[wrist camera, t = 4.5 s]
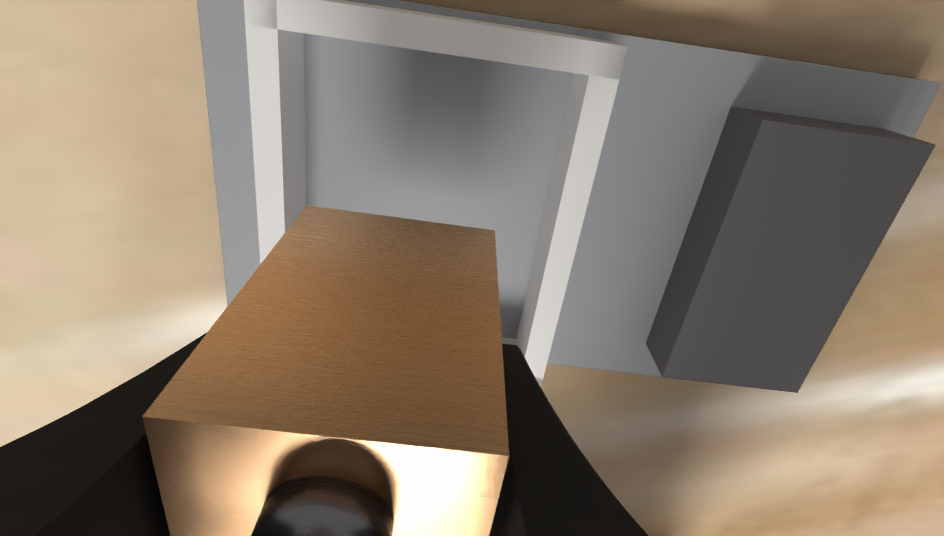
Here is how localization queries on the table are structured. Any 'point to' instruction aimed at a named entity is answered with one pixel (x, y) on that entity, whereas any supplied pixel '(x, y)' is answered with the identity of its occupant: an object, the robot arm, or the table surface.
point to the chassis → (573, 172)
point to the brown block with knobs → (344, 389)
